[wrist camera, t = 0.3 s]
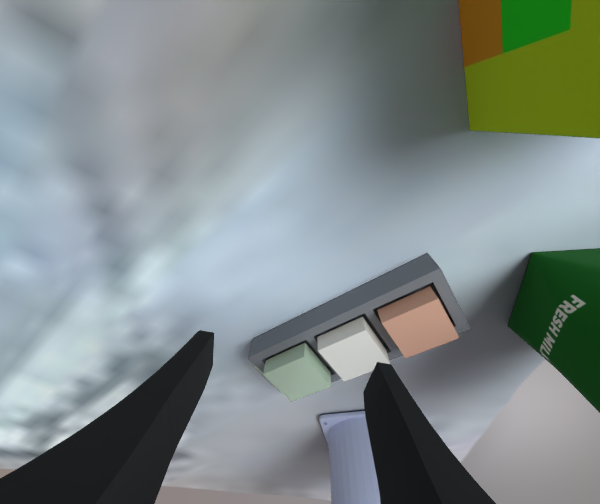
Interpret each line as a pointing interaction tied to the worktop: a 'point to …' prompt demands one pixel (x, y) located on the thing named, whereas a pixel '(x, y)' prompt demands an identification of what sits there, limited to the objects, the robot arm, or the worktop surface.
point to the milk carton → (563, 315)
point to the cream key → (352, 349)
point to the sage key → (297, 372)
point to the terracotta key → (417, 323)
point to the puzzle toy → (532, 66)
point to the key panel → (360, 312)
